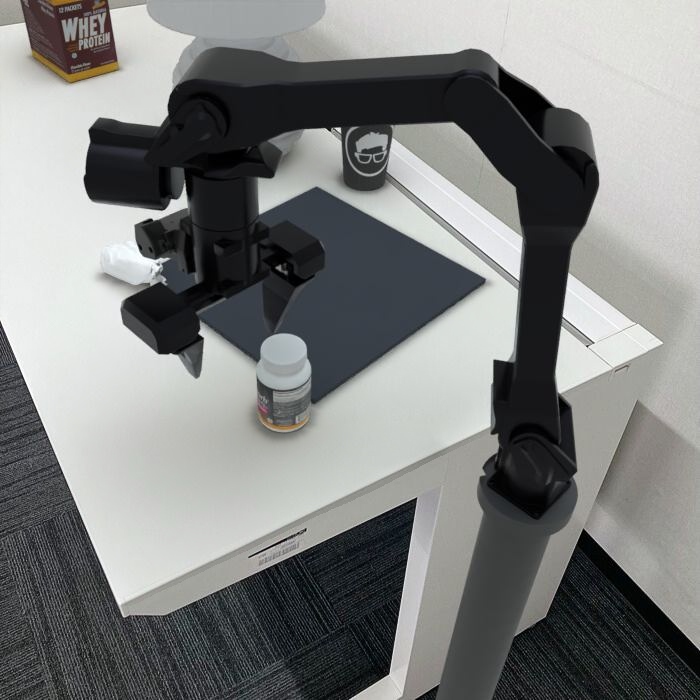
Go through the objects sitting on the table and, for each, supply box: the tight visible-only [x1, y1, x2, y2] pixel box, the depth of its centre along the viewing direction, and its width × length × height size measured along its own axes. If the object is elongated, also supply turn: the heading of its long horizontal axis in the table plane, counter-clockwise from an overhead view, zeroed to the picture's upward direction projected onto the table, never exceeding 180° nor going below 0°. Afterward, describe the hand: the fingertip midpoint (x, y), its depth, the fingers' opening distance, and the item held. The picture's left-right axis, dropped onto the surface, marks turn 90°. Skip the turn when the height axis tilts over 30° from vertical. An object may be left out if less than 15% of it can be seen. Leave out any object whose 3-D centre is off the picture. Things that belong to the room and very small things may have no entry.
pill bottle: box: [255, 334, 312, 433], centre depth 83 cm, size 6×6×10 cm
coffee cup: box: [340, 125, 396, 192], centre depth 119 cm, size 10×10×15 cm
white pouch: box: [99, 240, 167, 287], centre depth 100 cm, size 5×7×10 cm
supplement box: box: [19, 0, 120, 83], centre depth 147 cm, size 10×15×16 cm
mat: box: [160, 185, 487, 404], centre depth 104 cm, size 32×32×1 cm
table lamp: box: [145, 0, 327, 157], centre depth 115 cm, size 25×25×40 cm
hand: (233, 352), depth 75 cm, fingers open, 9 cm apart
